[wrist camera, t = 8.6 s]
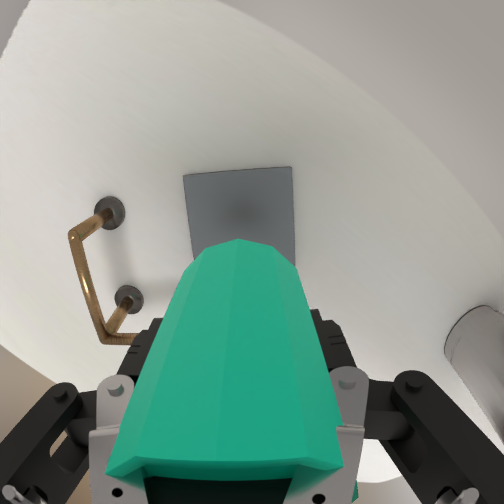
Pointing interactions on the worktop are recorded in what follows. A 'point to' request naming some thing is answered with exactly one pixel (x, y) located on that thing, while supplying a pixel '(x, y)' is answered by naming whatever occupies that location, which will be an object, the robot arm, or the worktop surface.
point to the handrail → (126, 298)
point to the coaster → (241, 208)
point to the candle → (232, 377)
